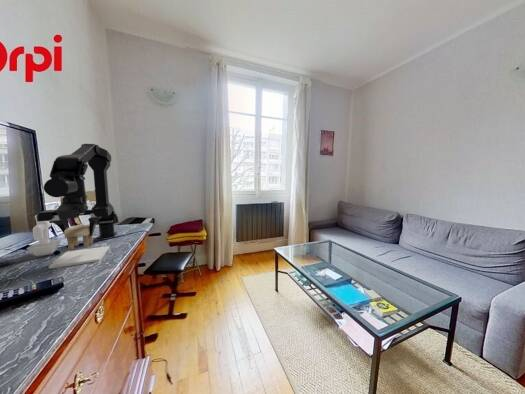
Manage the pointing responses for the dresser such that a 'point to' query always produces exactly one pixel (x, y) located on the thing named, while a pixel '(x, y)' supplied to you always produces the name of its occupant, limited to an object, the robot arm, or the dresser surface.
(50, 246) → the figurine
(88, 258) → the mat
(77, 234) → the tan pegged block
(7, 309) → the dresser surface
